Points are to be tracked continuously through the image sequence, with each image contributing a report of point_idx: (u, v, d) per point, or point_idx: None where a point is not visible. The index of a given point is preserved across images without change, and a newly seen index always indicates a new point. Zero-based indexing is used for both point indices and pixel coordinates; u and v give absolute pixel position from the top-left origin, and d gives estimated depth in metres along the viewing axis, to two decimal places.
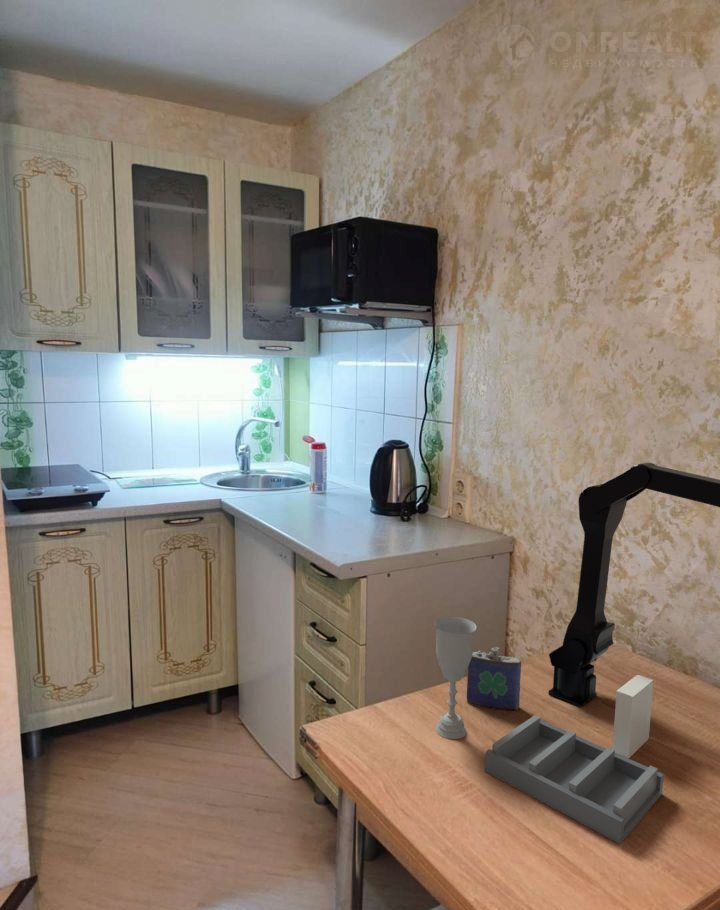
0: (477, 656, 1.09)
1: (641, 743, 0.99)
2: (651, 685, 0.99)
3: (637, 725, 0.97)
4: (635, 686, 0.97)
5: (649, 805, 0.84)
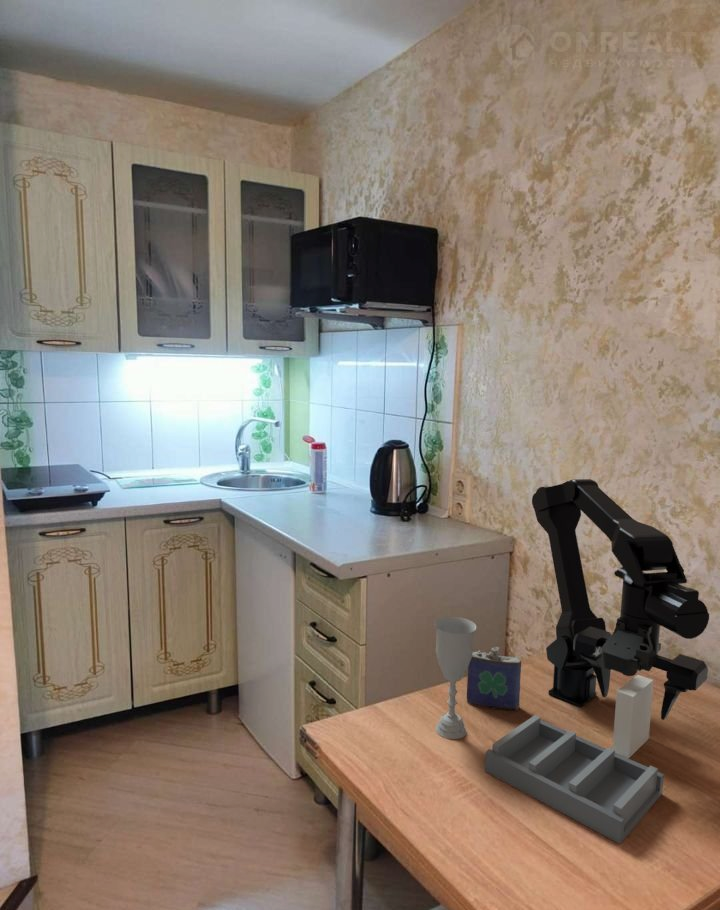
0: (477, 656, 1.09)
1: (641, 743, 0.99)
2: (651, 685, 0.99)
3: (637, 725, 0.97)
4: (635, 686, 0.97)
5: (649, 805, 0.84)
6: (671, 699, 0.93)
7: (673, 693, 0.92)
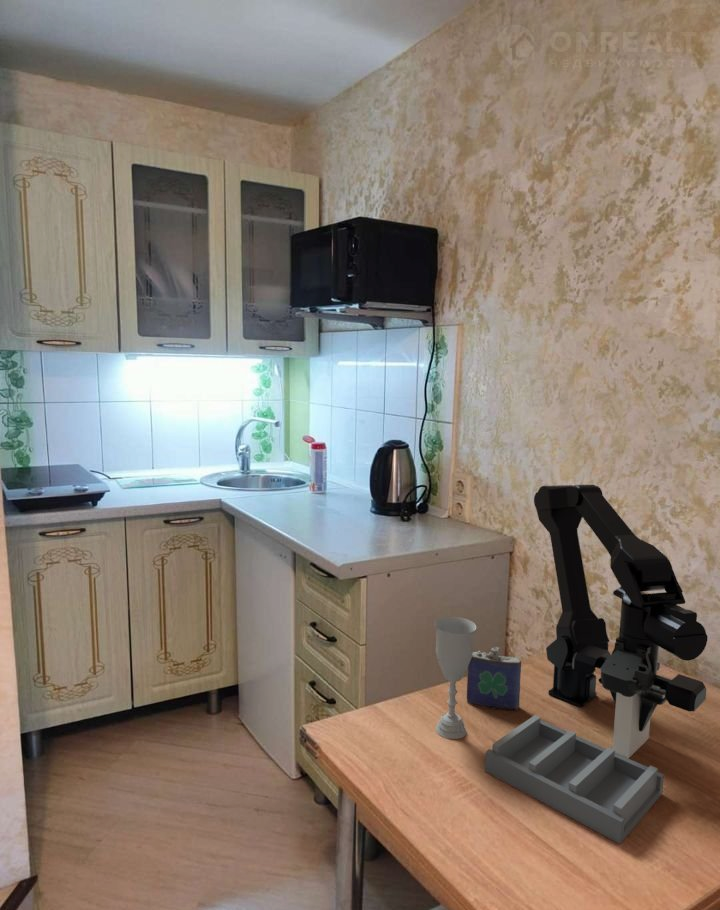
0: (477, 656, 1.09)
1: (641, 743, 0.99)
2: None
3: (637, 725, 0.97)
4: None
5: (649, 805, 0.84)
6: (648, 711, 0.95)
7: (650, 705, 0.95)
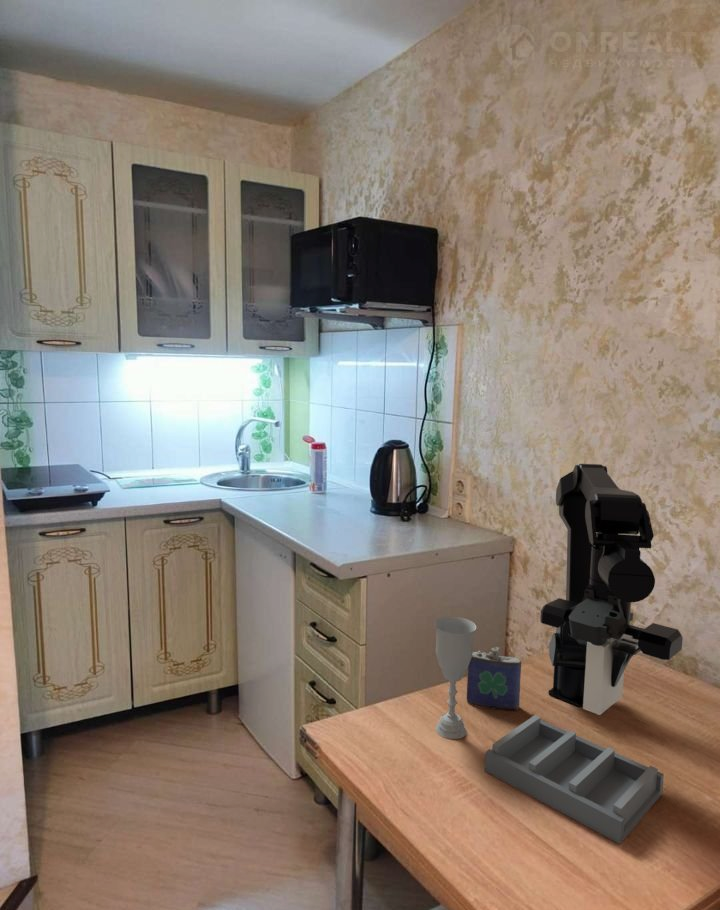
0: (477, 656, 1.09)
1: (614, 700, 0.91)
2: None
3: (609, 679, 0.89)
4: None
5: (649, 805, 0.84)
6: (621, 664, 0.88)
7: (622, 657, 0.88)
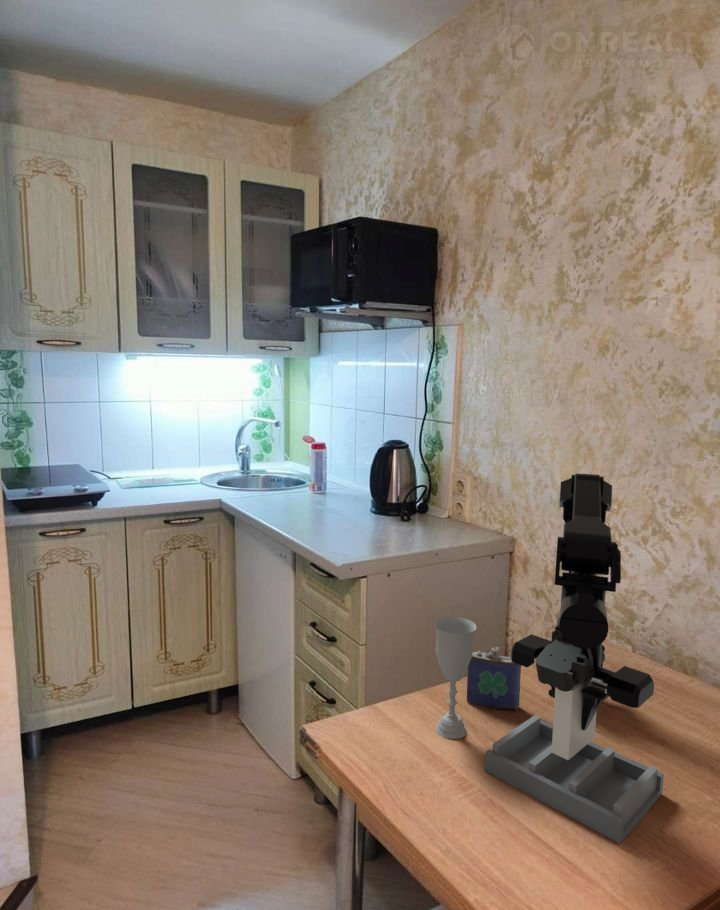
0: (477, 656, 1.09)
1: (585, 743, 0.88)
2: None
3: (578, 723, 0.86)
4: None
5: (649, 805, 0.84)
6: (590, 708, 0.85)
7: (592, 701, 0.84)
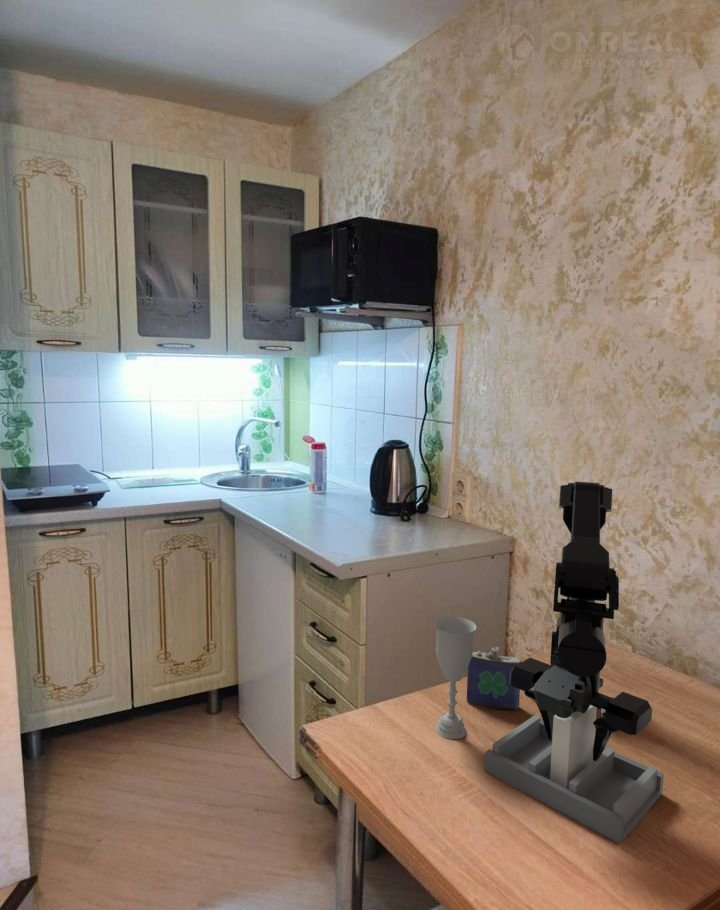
0: (477, 656, 1.09)
1: None
2: (594, 709, 0.90)
3: (576, 754, 0.87)
4: None
5: (649, 805, 0.84)
6: (602, 739, 0.84)
7: (604, 733, 0.83)
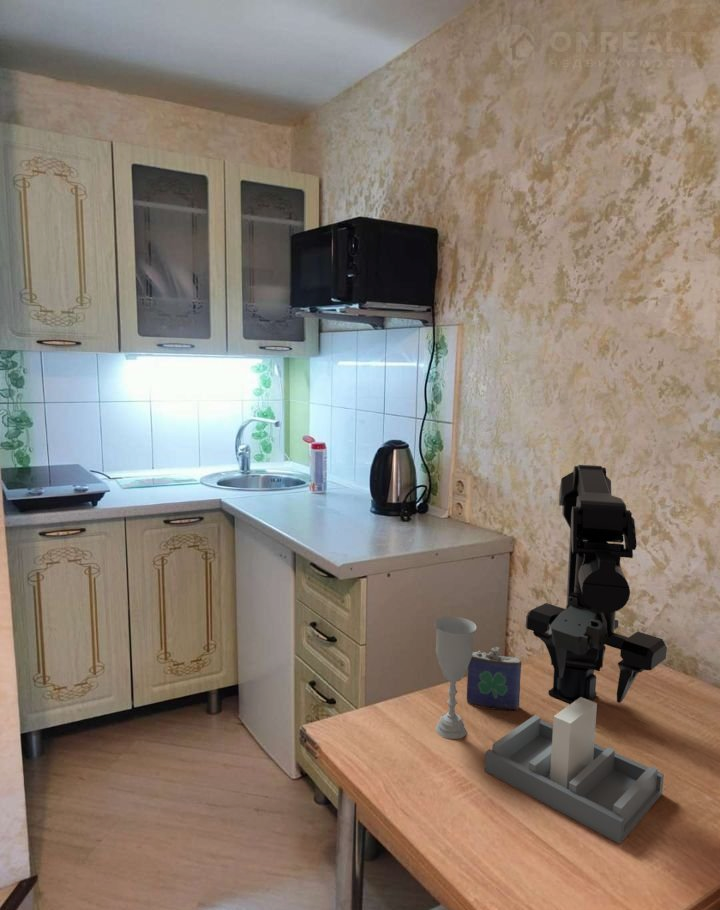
0: (477, 656, 1.09)
1: None
2: (594, 709, 0.90)
3: (576, 754, 0.87)
4: (575, 711, 0.87)
5: (649, 805, 0.84)
6: (626, 680, 0.85)
7: (628, 673, 0.85)
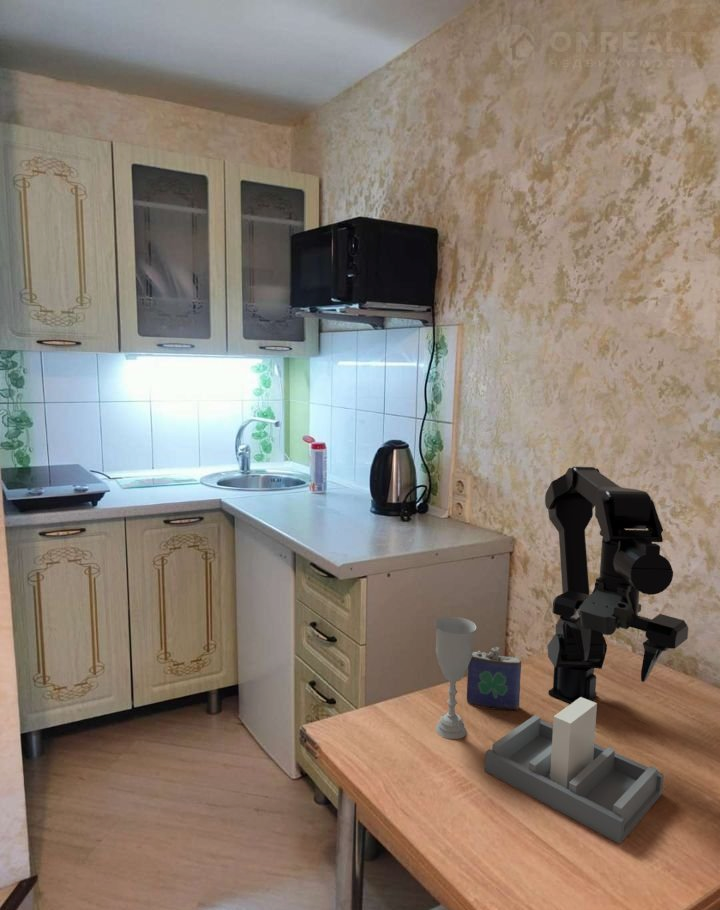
0: (477, 656, 1.09)
1: None
2: (594, 709, 0.90)
3: (576, 754, 0.87)
4: (575, 711, 0.87)
5: (649, 805, 0.84)
6: (651, 659, 0.91)
7: (653, 653, 0.90)
